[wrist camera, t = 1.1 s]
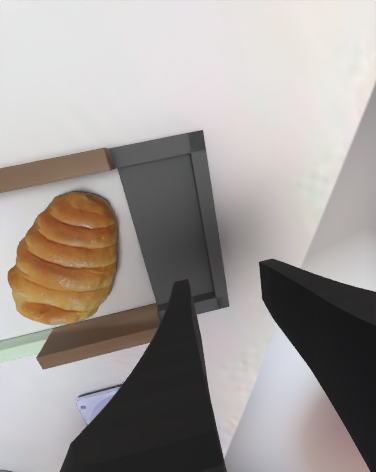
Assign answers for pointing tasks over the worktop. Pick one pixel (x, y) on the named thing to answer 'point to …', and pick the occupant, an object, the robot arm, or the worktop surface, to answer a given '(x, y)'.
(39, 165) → the corridor
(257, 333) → the worktop surface
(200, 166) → the tray
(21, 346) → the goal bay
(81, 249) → the pastry
